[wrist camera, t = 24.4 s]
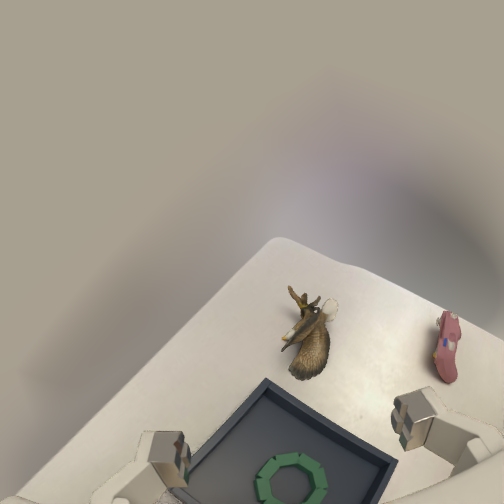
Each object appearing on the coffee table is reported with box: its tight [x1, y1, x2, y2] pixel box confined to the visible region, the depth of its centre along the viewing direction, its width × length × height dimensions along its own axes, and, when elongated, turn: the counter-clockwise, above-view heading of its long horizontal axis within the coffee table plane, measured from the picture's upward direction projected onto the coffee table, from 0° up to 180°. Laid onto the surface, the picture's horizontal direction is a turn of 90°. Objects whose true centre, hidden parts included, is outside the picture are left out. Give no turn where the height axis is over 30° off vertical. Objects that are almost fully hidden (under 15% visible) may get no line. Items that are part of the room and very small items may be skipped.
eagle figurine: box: [281, 286, 338, 380], centre depth 35 cm, size 8×7×9 cm
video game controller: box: [433, 311, 461, 383], centre depth 37 cm, size 10×5×7 cm, turn 148°
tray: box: [167, 378, 398, 504], centre depth 23 cm, size 17×15×2 cm
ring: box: [254, 452, 328, 504], centre depth 23 cm, size 6×6×1 cm
